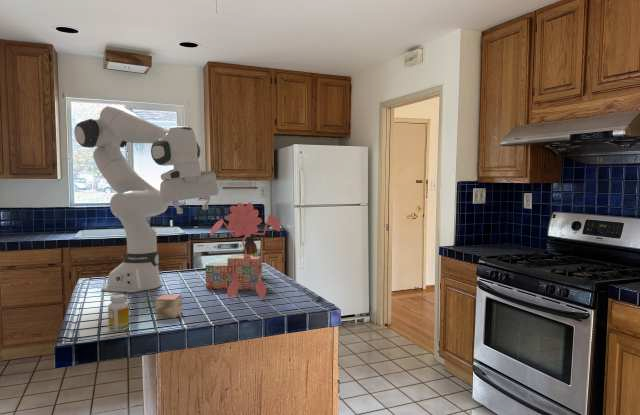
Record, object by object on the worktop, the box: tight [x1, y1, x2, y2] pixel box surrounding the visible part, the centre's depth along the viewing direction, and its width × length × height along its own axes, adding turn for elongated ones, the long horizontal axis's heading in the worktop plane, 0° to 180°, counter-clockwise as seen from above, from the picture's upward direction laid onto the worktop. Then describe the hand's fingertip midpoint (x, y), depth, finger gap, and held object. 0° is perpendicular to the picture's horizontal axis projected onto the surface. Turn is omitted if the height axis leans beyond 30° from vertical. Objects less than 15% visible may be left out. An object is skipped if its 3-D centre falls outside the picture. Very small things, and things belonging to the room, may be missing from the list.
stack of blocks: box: [204, 255, 263, 290], centre depth 179 cm, size 21×6×12 cm, turn 83°
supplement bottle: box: [107, 293, 130, 332], centre depth 130 cm, size 5×5×10 cm
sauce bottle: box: [242, 234, 259, 256], centre depth 199 cm, size 6×6×20 cm
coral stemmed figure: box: [210, 202, 281, 308], centre depth 158 cm, size 15×26×35 cm, turn 86°
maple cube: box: [155, 293, 183, 319], centre depth 143 cm, size 6×6×6 cm
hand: (193, 211), depth 157 cm, fingers open, 8 cm apart
